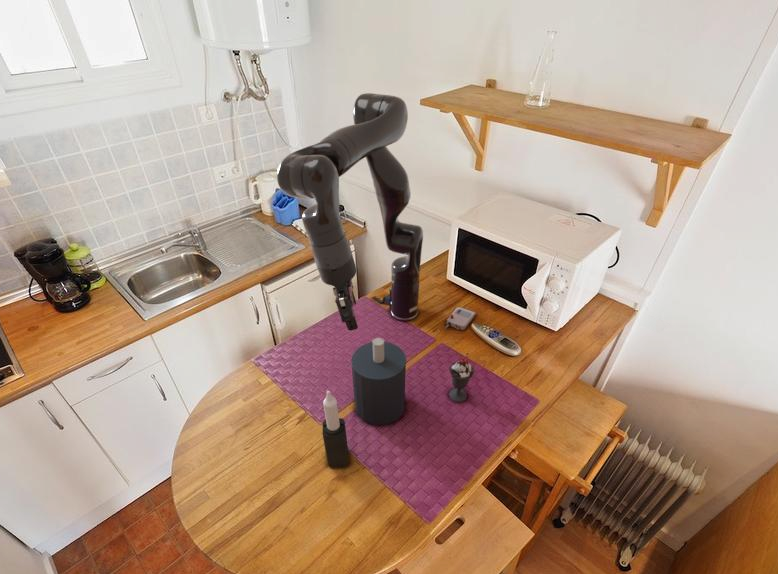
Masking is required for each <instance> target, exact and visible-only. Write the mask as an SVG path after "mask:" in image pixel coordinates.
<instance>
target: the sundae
mask: <svg viewBox="0 0 778 574" xmlns="http://www.w3.org/2000/svg"><path fill="white" fill-rule="evenodd" d="M469 354H470V353H469V352H466V355H465V357H464V358H461V359H460V360H458V361H456V362H454V363H452V364H451V365H450V366H449V373H450V375H451V381H452V385H453V387H454V388H453V389H451V390H450V391H449V393H448V394H449V398H450V399H451V400H452V401H454V402H456V403H460V402H461V403H462V402H464V401H466V399H467V397H468V395H467V392H466V391H465V390H464V389H465V388H467V386H468V384H469V381H470V380H471V379H472V378H473V376H475V368H474V367H473V366H472V365H471V363H470V360H469V359H468V356H469Z"/></svg>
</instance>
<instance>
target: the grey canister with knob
mask: <svg viewBox="0 0 778 574" xmlns="http://www.w3.org/2000/svg"><path fill="white" fill-rule="evenodd" d="M350 360H351V362H350V363H351V372H352V373H351V374H352V375H351V376H352V385H353V398H354V408H355V411H356V414H357V416H358V417H359V418H360V419H361V420H362V421H363V422H365V423H368V424H370V425H374V426H385V425H389V424H393V423H395V422H396V421H397V420H399V419H400V418H401V417H402V415H403V413H404V412H405V402H406V398H405V397H406V374H407V373H406V371H407V369H406V368H407V356H406V354H405V352H404V350H403V349H402V348H400V346H399V345H397V344H394V343H392V342H388V341H385V340H384V338H381V337H375V338H374V339H372V341H370V342H367V343H364V344H363V345H361V346H359V347H357V349H355V350H354V352H353V353H352V355H351V359H350Z"/></svg>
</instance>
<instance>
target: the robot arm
mask: <svg viewBox="0 0 778 574" xmlns="http://www.w3.org/2000/svg"><path fill="white" fill-rule="evenodd" d="M352 112H353V113H352V115H353V117H352V118H353V124H351V125H346V126H343V127H340V128H338V129H336V130H335V131H332V132H331V133H330V134H328V135H327V136H325V137H324V138H322V139H321V140H320V141H319V142H316V143H314V144H312V145H308V146H306V147H303V148H300V149H298V150H295V151H292V152H291V153H289V154H287V155H286V156H285V157H284V158H283V159H282V160H281V161H280V163H279V165H278V168H277V171H276V181H277V185H278V187H279V189H280V190H281V191H282V193H284V195H286V196H288V197H290V198H294V199H314V200H315V204H313V205H311V206H309V207H307V208H306V209H305V210H304V211H303V213H302V215H301V221H302V225H303V227H304V231H305V233H306V235H307V239H308V242H309V246H310V249H311V250H310V251H311V253H312V257H313V260H314V263H315V265H316V268H317V271H318V273H319V276H320V279H321V281H322V282H323V283H324V284H325V285H328V286H332V292H333V296H335V300H334V302H335V304H336V307H337V310H338V313H339V316H340V319H341V322H342V323H344V324H345V325H346V328H347V330H348V331H354V330H357V329H358V328H359V327H358V323H357V319H356V313H355V311H354V306H356V304H357V300H356V296H355V294H354V282H353V279H354V277H356V274H357V266H356V262H355V259H354V255H353V252H352V249H351V245H350V241H349V239H348V237H347V234H346V232H345V229H344V225H343V222H342V218H341V215H340V195H339V194H340V193H339V192H340V178H341V177H343V175H345V174H346V173H347V172H348V171H350V169H351V170H352V168H353V167H354V166H356V165H357V163H359V162H360V161H362V160H364V158H365V159H366V162H367V166H368V168H369V172H370V175H371V179H372V184H373V188H374V193H375V197H376V199H377V204H378V206H379V211H380V214H381V218H382V219H381V220H382V224H383V225H382V226H383V233H384V239H385V244H386V247H387V249H388V250H389V251H390V252H392V253H396V254H400V255H403V256H400V257H397V258H395V259H394V260H392V262H391V287H390V288H389V293H388V294H385V295H384V296H383V297H382V299H379V298H378V297H376V296H373V297H372V299H373V300H374V301H376V302H377V303H379V304H386V305H387V306H389V311H390V314H391V316H392V317H393V319H395V320H398V321H402V322H408V321H412V320H414V319H415V318H417V317H418V314H419V297H420V296H419V295H420V294H419V293H420V275H421V274H420V273H421V272H420V271H421V262H422V251H423V243H424V230H423V228H422V226H420V225H419V224H412V223H406V222H402V221H399V216H400V215H401V214H402V213H403V211H405V209H406V208H407V206H408V205H409V203H410V201H411V194H412V193H411V186H410V179H409V175H408V173H407V171H406V169H405V167H404V166H403V164H402V163H401V162H400V161H399V160H398V159H397V158H396V156H395V155H394V154H393V152H391V151H390V150H389V148H388V146H390V145H394V144H395V143H397V142H398V141H400V140H401V139H402V137H403V136H404V135H405V132H406V129H407V127H408V117H409V116H408V115H409V113H408V112H409V111H408V106H407V104H406V102H405V100H404V99H402V98H401V97H399V96H396V95H391V94H381V93H372V92H365V93H361V94H359V95H358V96H357V98H356V99H355V101H354V104H353V111H352ZM404 255H405V256H404Z"/></svg>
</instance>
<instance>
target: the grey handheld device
mask: <svg viewBox="0 0 778 574" xmlns="http://www.w3.org/2000/svg"><path fill="white" fill-rule="evenodd" d="M476 315H477V312H475V311H472V310H469V309H467V308H464V307H460V306H458V307H456V308H455V309H454V311H453V312H452V313H451V314H450V315H449V316H448V318H447V319H446V326H445V328H444V330H446V329H448V327H452V328H454V329H456V331H458V330H461V331H464V330H465V329H466V328H467V327H468V326H469V324H470V323H471V322H472V320H473V319H474V318H475V317H476Z"/></svg>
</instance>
